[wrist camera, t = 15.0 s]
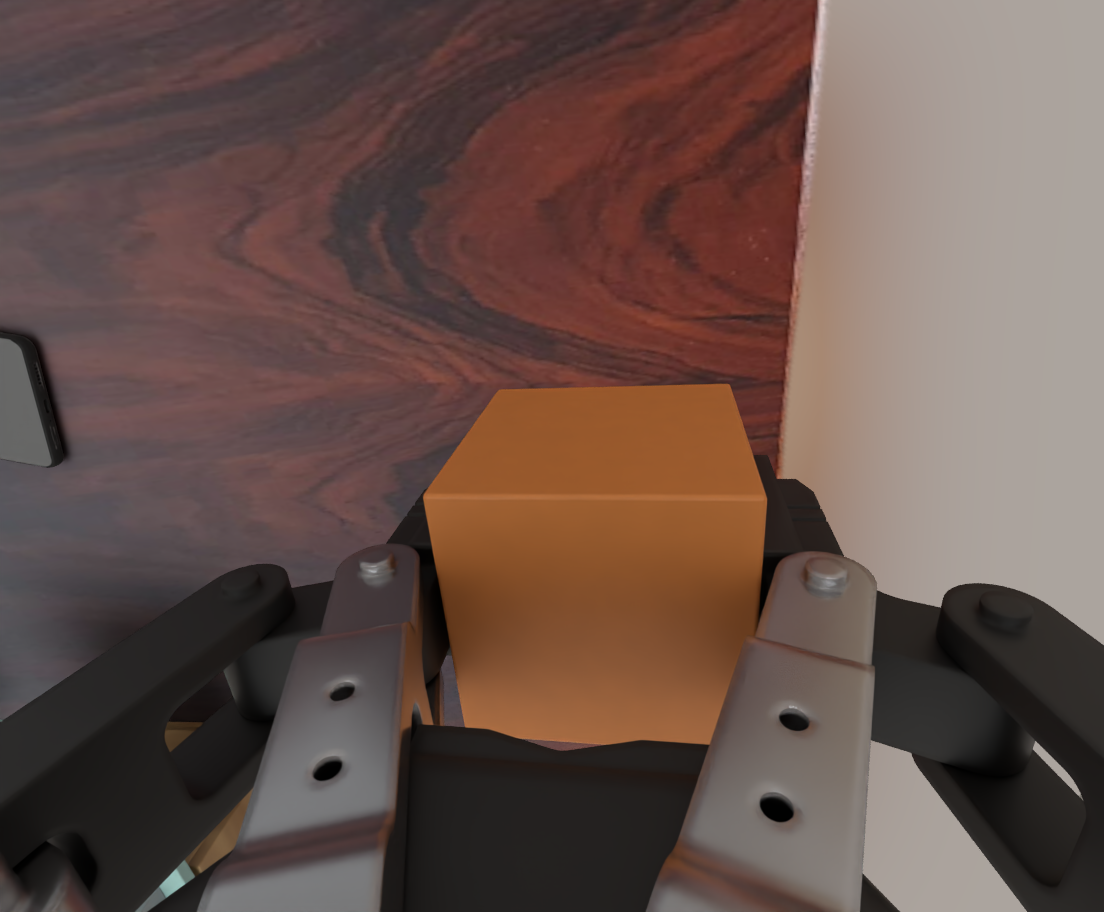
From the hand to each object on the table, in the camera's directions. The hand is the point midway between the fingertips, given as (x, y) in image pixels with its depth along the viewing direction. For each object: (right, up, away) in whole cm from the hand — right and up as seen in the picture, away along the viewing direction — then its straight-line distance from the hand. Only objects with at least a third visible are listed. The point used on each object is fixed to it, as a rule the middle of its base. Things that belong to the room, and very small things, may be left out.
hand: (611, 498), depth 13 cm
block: (0, 0, 0) cm, 0 cm away
